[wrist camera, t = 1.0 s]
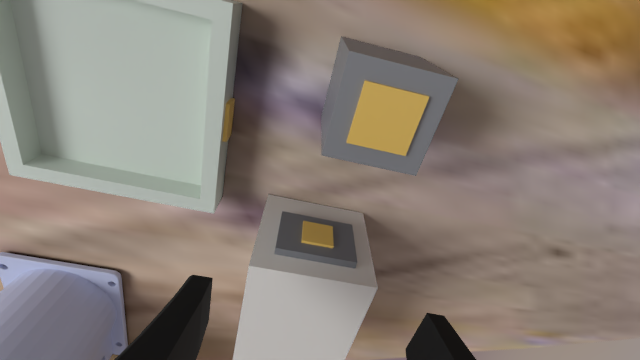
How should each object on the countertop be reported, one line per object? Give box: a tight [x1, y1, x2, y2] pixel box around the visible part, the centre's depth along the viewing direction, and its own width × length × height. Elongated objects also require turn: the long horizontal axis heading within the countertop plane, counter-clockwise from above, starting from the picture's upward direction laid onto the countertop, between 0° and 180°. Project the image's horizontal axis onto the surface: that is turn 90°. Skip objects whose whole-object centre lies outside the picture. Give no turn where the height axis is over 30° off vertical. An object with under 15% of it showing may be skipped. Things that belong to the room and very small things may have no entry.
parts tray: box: [0, 0, 243, 213], centre depth 16 cm, size 11×11×2 cm
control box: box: [233, 194, 378, 360], centre depth 19 cm, size 10×6×6 cm
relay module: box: [322, 36, 458, 176], centre depth 14 cm, size 4×4×5 cm
